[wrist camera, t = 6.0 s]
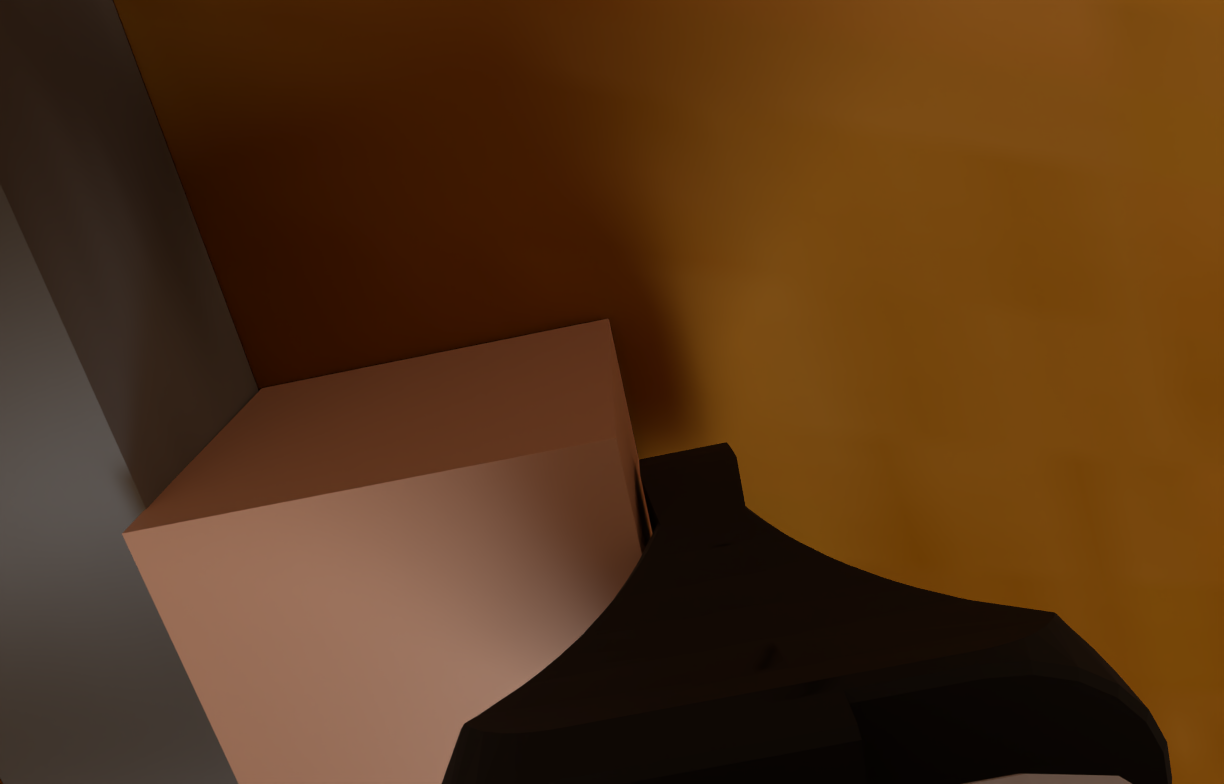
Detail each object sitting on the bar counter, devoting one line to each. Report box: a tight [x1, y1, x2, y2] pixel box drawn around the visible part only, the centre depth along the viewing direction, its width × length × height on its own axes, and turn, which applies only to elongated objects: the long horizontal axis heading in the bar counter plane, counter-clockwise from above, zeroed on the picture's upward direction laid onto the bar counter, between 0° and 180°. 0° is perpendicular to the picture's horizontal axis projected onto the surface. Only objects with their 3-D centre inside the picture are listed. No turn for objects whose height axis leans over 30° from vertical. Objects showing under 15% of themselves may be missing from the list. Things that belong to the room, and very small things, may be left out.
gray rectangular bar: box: [0, 0, 259, 784], centre depth 12 cm, size 20×3×4 cm, turn 11°
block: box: [122, 318, 652, 784], centre depth 11 cm, size 5×5×4 cm
